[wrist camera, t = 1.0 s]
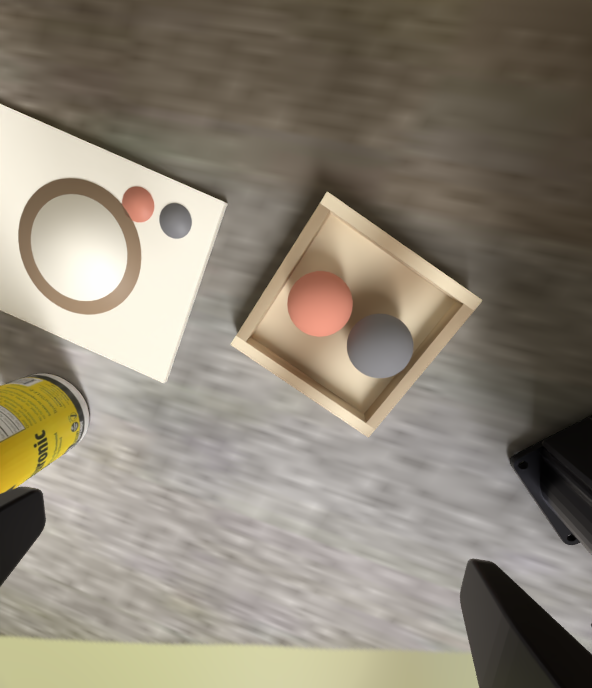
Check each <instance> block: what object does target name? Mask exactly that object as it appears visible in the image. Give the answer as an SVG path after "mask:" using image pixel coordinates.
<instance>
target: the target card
mask: <svg viewBox="0 0 592 688" xmlns="http://www.w3.org/2000/svg"><path fill="white" fill-rule="evenodd" d="M226 207H227V203H225V202H223V201H221V200H218V199H216V198H214V197H212V196H209V195H207V194H205V193H203V192H200V191H198V190H196V189H193V188H191V187H189V186H187V185H184V184H182V183H180V182H177V181H175V180H173V179H171V178H168V177H166V176H164V175H161V174H159V173H157V172H155V171H152V170H150V169H148V168H145V167H143V166H141V165H139V164H136V163H134V162H132V161H130V160H127V159H125V158H123V157H120V156H118V155H116V154H114V153H111V152H109V151H107V150H104V149H102V148H100V147H98V146H95V145H93V144H91V143H88V142H86V141H84V140H82V139H79V138H77V137H75V136H72V135H70V134H68V133H66V132H63V131H61V130H59V129H57V128H54V127H52V126H50V125H47V124H45V123H43V122H41V121H38V120H36V119H34V118H31V117H29V116H27V115H25V114H22V113H20V112H18V111H15V110H13V109H11V108H9V107H6V106H4V105H2V104H0V310H1V311H3V312H5V313H8V314H10V315H12V316H14V317H17V318H19V319H21V320H23V321H26V322H28V323H30V324H32V325H34V326H37V327H39V328H41V329H43V330H46V331H48V332H50V333H52V334H55V335H57V336H59V337H61V338H64V339H66V340H68V341H70V342H72V343H75V344H77V345H79V346H81V347H84V348H86V349H88V350H90V351H93V352H95V353H97V354H99V355H102V356H104V357H106V358H108V359H111V360H113V361H115V362H117V363H119V364H122V365H124V366H126V367H128V368H131V369H133V370H135V371H137V372H140V373H142V374H144V375H146V376H149V377H151V378H153V379H155V380H158V381H160V382H162V383H165V382H167V380H168V377H169V374H170V371H171V368H172V365H173V362H174V359H175V356H176V353H177V351H178V348H179V345H180V342H181V339H182V336H183V333H184V330H185V327H186V324H187V321H188V318H189V315H190V312H191V309H192V306H193V304H194V301H195V298H196V295H197V292H198V289H199V286H200V283H201V280H202V277H203V274H204V271H205V268H206V265H207V262H208V259H209V257H210V254H211V251H212V248H213V245H214V242H215V239H216V236H217V233H218V230H219V227H220V224H221V221H222V218H223V215H224V212H225V210H226Z"/></svg>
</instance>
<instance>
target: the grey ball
mask: <svg viewBox="0 0 592 688" xmlns="http://www.w3.org/2000/svg"><path fill="white" fill-rule="evenodd" d="M347 353H348V356H349V359H350V361H351V362H352V364H353V365H354V367H355V368H356V369H357V370H358V371H360V372H361V373H363V374H364V375H366V376H369V377H373V378H387V377H391V376H394V375H396V374H398V373H399V372H401V371H402V370H403V369H404V368H405V367H406V366H407V364H408V363H409V361H410V359H411V357H412V354H413V339H412V335H411V333H410V331H409V329H408V328H407V326H406V325H405V324H404V323H403V322H402V321H401V320H399V319H398V318H396V317H394V316H391V315H388V314H372V315H369V316H366V317H364V318H363V319H361V320H360V321H358V322H357V323H356V324H355V325H354V326H353V328H352V329H351V331H350V333H349V336H348V339H347Z"/></svg>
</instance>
